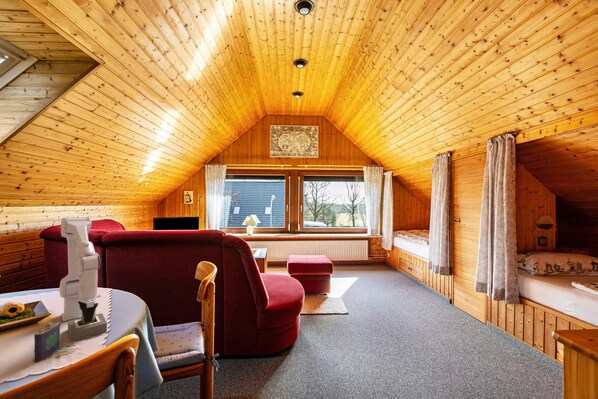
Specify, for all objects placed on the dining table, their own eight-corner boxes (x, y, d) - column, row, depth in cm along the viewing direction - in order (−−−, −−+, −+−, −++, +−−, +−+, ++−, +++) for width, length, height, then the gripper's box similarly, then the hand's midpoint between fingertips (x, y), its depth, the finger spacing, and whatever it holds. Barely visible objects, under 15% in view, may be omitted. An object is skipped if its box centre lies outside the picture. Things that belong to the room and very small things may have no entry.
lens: (79, 323, 105) (80, 305, 105) (93, 320, 108) (94, 303, 108) (81, 327, 102) (83, 309, 102) (96, 324, 105) (97, 306, 105)
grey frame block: (67, 329, 105) (68, 320, 105) (101, 321, 113) (102, 312, 113) (70, 341, 97) (70, 331, 97) (106, 331, 104) (106, 322, 104)
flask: (53, 346, 93) (54, 316, 93) (63, 346, 94) (63, 316, 94) (31, 363, 84) (32, 329, 84) (41, 362, 84) (42, 329, 84)
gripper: (103, 288, 102) (102, 323, 102) (98, 279, 113) (97, 311, 113) (80, 292, 97) (79, 328, 97) (76, 282, 108) (75, 315, 108)
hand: (87, 319), depth 105 cm, fingers closed on lens, 4 cm apart
